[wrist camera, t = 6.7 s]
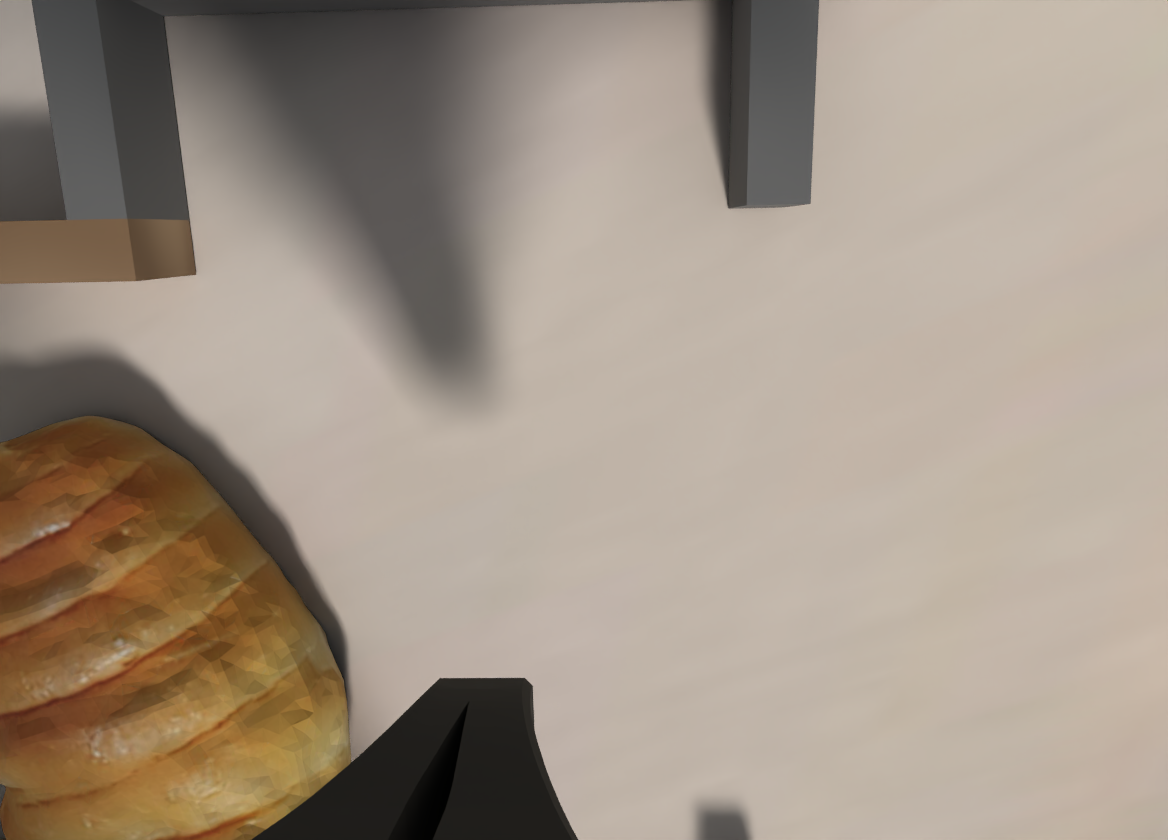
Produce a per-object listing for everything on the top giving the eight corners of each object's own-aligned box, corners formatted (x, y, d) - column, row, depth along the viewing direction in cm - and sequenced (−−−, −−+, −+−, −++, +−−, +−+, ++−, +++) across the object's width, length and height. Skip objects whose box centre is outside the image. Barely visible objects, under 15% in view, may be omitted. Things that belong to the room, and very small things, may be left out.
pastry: (-73, 471, 17) (-267, 539, 13) (219, 359, 16) (103, 398, 12) (135, 840, 19) (18, 992, 15) (404, 755, 18) (352, 891, 14)
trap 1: (783, 207, 15) (809, 203, 13) (136, 221, 15) (66, 219, 13) (793, -68, 14) (824, -117, 12) (99, -45, 14) (17, -88, 12)
